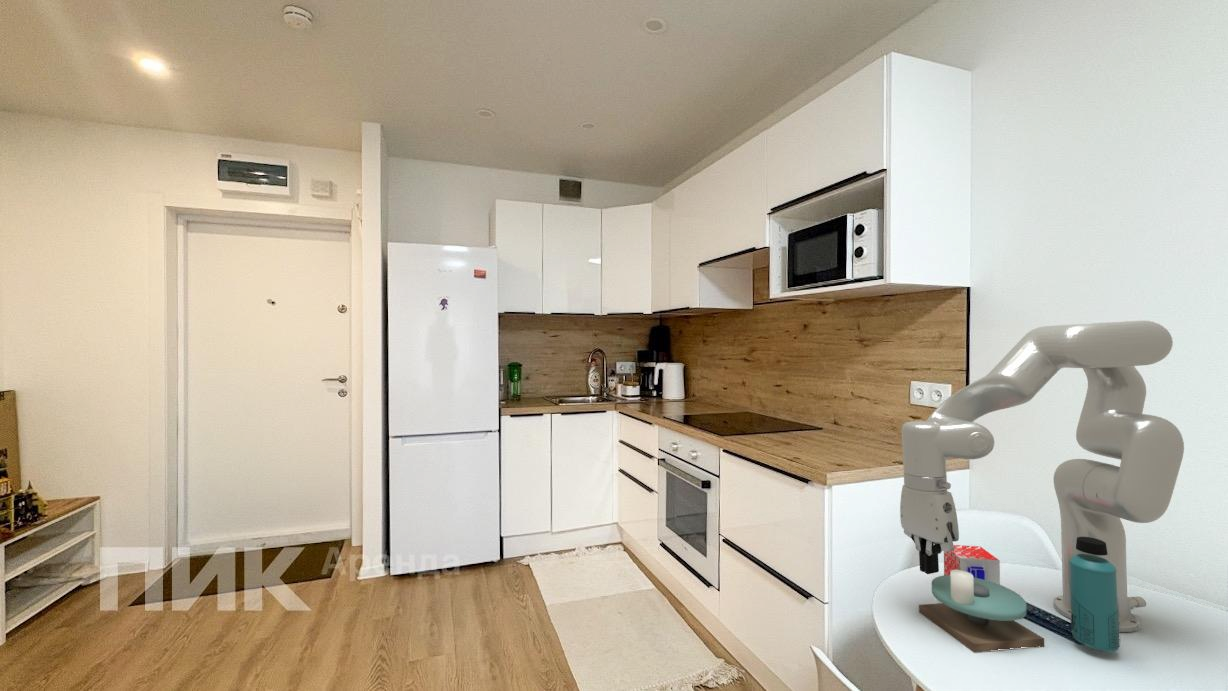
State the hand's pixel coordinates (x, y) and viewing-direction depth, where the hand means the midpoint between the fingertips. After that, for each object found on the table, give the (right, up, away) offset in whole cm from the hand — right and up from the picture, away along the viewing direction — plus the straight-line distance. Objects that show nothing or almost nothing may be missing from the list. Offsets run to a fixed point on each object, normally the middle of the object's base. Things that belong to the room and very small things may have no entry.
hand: (929, 571), depth 101 cm
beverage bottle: (+22, -9, -12) cm, 27 cm away
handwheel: (+7, -4, -4) cm, 9 cm away
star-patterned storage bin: (+18, -10, +13) cm, 24 cm away
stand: (+7, -9, -4) cm, 12 cm away
